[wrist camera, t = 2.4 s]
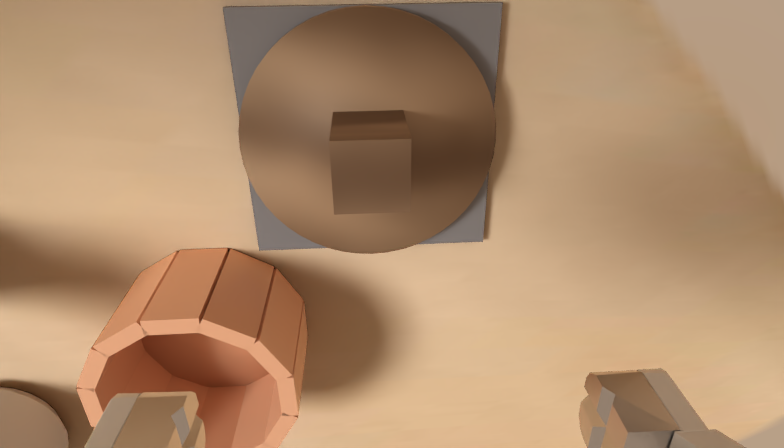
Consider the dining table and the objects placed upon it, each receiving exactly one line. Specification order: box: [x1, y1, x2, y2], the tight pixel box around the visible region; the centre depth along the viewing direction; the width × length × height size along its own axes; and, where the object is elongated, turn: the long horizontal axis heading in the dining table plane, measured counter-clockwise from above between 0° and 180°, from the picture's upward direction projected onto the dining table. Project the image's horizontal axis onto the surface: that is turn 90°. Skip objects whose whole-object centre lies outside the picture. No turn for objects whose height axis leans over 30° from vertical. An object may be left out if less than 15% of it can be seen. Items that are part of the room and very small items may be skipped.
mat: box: [223, 2, 503, 251], centre depth 26 cm, size 12×12×1 cm
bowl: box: [76, 248, 308, 448], centre depth 28 cm, size 10×10×6 cm
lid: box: [239, 5, 496, 254], centre depth 23 cm, size 12×12×5 cm
